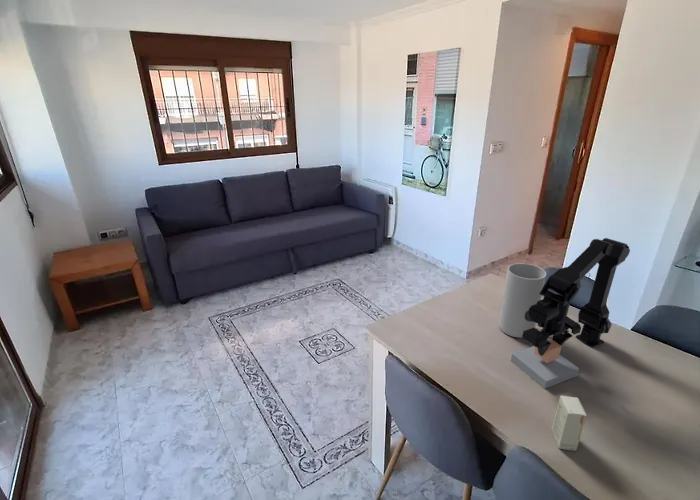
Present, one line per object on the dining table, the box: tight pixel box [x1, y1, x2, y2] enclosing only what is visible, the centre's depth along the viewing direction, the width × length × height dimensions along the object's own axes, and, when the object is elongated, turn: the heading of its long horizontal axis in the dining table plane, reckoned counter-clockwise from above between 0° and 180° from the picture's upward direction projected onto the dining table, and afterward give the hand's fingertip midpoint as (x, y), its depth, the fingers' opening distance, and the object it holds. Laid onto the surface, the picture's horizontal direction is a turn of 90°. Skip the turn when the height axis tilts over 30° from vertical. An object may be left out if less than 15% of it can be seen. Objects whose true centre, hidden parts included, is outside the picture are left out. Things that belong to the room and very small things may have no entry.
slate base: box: [510, 345, 580, 389], centre depth 120 cm, size 14×14×3 cm
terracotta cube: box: [534, 337, 562, 363], centre depth 118 cm, size 5×5×5 cm
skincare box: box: [551, 394, 587, 451], centre depth 94 cm, size 6×4×12 cm
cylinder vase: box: [498, 262, 547, 339], centre depth 136 cm, size 12×12×25 cm
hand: (546, 352), depth 119 cm, fingers closed on terracotta cube, 5 cm apart
